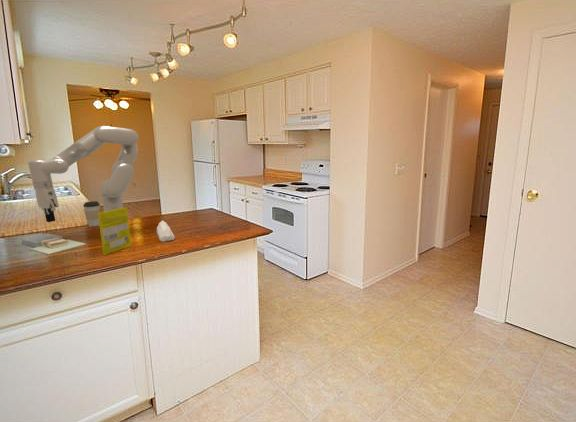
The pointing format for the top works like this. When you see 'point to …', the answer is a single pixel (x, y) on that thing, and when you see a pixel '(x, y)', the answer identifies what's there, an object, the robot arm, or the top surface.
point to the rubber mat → (49, 251)
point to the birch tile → (54, 243)
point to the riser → (38, 239)
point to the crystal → (164, 232)
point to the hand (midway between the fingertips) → (51, 221)
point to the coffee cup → (92, 212)
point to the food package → (114, 230)
